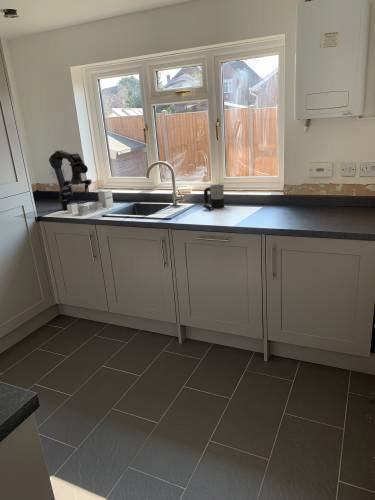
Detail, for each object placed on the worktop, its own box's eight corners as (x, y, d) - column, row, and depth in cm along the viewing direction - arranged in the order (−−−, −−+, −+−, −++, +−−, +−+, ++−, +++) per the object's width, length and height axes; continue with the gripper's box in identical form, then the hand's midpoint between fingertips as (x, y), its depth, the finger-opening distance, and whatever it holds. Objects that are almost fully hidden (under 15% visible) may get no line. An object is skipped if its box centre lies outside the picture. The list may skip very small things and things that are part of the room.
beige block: (89, 209, 294) (88, 204, 293) (93, 208, 297) (92, 203, 296) (93, 210, 291) (92, 205, 290) (97, 209, 293) (96, 204, 292)
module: (68, 213, 286) (66, 204, 284) (74, 211, 291) (72, 202, 289) (72, 213, 284) (71, 204, 282) (78, 211, 288) (77, 203, 286)
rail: (76, 215, 277) (75, 207, 276) (99, 208, 295) (98, 201, 293) (82, 215, 274) (81, 207, 272) (105, 208, 291) (104, 201, 290)
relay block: (77, 209, 297) (76, 205, 296) (79, 208, 301) (79, 203, 299) (81, 209, 296) (81, 205, 295) (84, 208, 299) (83, 203, 298)
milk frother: (224, 205, 275) (223, 184, 270) (224, 210, 260) (223, 187, 255) (204, 206, 276) (202, 185, 272) (202, 211, 262) (201, 188, 257)
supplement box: (106, 208, 292) (104, 191, 288) (99, 208, 296) (97, 191, 293) (113, 206, 298) (111, 189, 294) (107, 206, 302) (105, 189, 298)
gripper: (59, 174, 270) (63, 197, 275) (87, 173, 270) (90, 196, 275) (63, 172, 280) (67, 194, 285) (90, 171, 281) (93, 193, 286)
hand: (79, 194), depth 282 cm, fingers open, 9 cm apart
